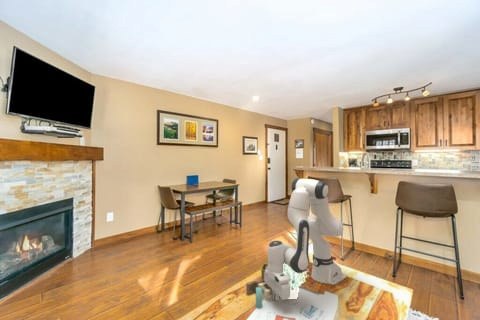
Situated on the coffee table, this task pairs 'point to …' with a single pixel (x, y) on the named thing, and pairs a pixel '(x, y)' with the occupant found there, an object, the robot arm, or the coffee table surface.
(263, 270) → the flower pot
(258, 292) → the dowel
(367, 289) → the coffee table surface
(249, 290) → the wall
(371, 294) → the coffee table surface
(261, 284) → the block
